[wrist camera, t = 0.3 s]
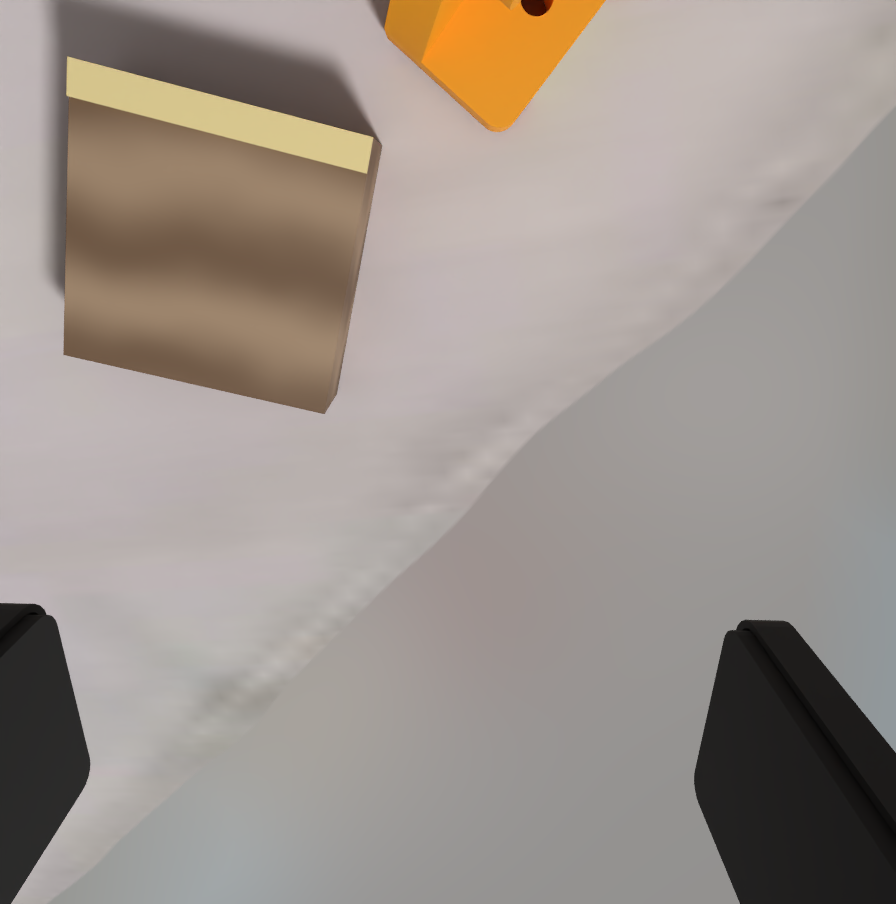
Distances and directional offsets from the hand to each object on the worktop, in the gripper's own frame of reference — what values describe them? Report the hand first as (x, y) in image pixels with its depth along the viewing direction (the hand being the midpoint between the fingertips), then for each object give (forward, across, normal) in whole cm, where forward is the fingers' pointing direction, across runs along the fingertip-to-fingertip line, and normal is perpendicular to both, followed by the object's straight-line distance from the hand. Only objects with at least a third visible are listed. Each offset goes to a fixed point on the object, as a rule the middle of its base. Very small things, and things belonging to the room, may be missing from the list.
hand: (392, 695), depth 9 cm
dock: (+30, +11, -4) cm, 32 cm away
